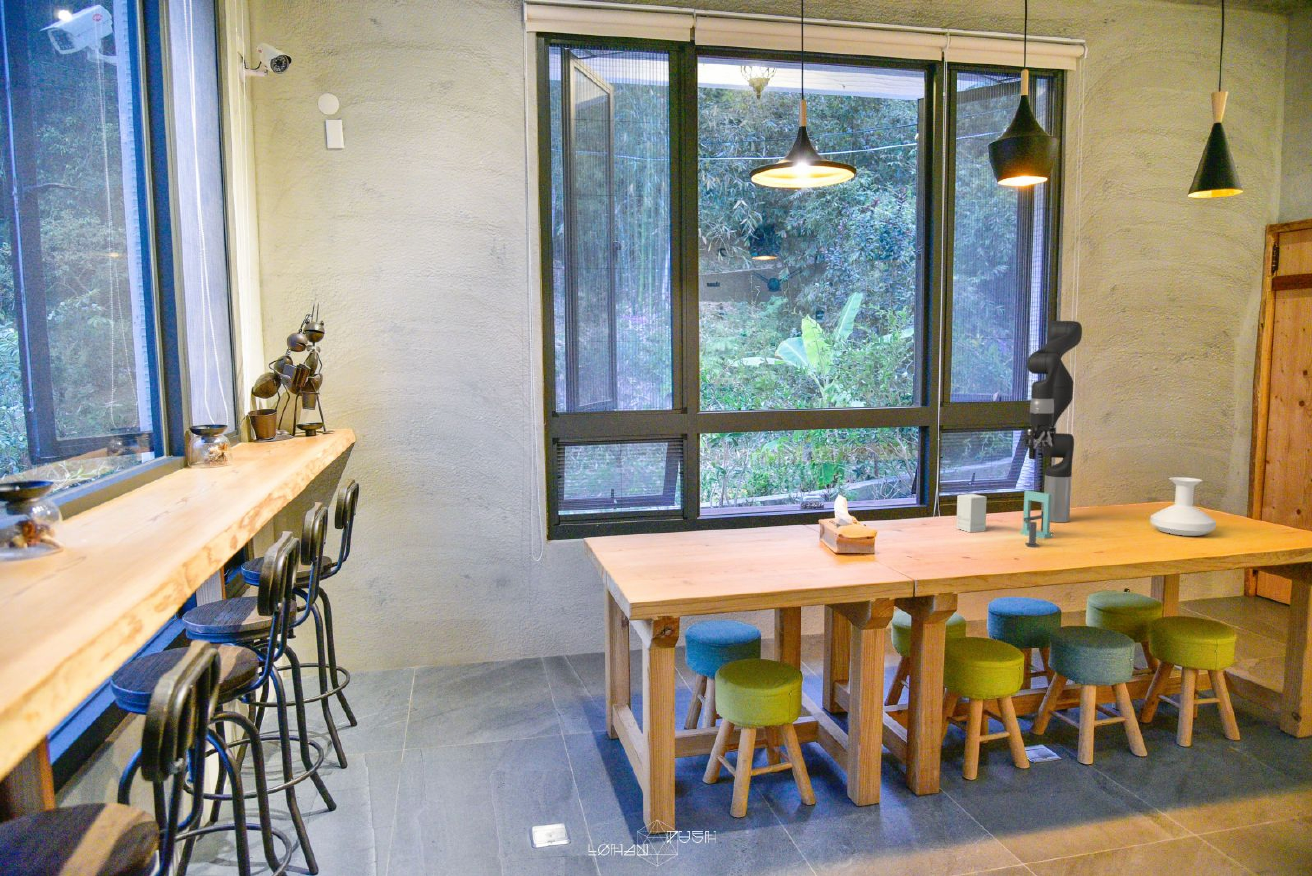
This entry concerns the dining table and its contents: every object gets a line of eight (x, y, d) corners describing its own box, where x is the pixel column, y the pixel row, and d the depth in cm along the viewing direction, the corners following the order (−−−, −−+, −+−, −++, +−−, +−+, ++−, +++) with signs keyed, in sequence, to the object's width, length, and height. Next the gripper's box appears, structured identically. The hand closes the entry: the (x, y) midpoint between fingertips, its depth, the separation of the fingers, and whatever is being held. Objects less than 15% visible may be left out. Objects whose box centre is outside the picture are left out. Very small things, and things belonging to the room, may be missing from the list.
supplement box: (986, 531, 316) (987, 496, 314) (969, 533, 313) (971, 498, 312) (971, 527, 323) (973, 493, 321) (955, 529, 320) (956, 494, 319)
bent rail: (1014, 545, 294) (1015, 521, 293) (1030, 531, 316) (1031, 509, 315) (1038, 548, 290) (1039, 524, 289) (1053, 533, 312) (1054, 511, 311)
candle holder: (1136, 528, 320) (1139, 476, 318) (1181, 525, 325) (1184, 474, 323) (1182, 540, 301) (1186, 485, 299) (1229, 537, 306) (1232, 482, 304)
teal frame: (1027, 532, 313) (1029, 490, 312) (1051, 537, 306) (1053, 493, 304) (1020, 534, 311) (1022, 491, 309) (1044, 539, 303) (1046, 495, 302)
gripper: (1043, 410, 311) (1041, 455, 312) (1019, 411, 303) (1017, 458, 305) (1063, 411, 304) (1061, 457, 306) (1039, 413, 297) (1037, 460, 298)
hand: (1039, 458), depth 305 cm, fingers open, 8 cm apart
